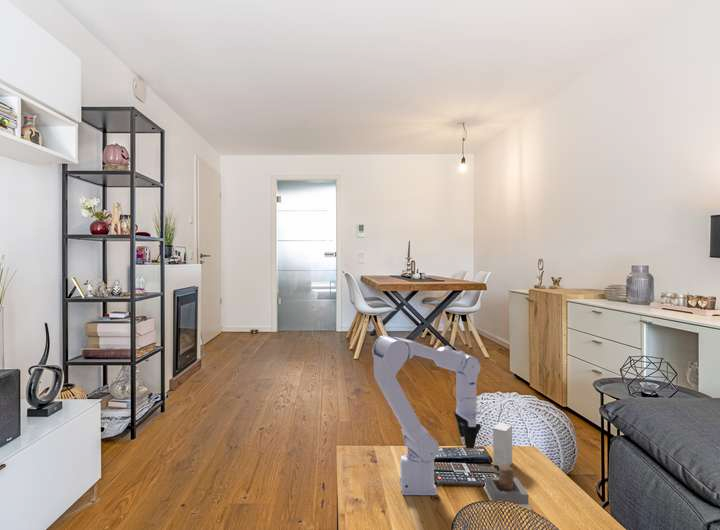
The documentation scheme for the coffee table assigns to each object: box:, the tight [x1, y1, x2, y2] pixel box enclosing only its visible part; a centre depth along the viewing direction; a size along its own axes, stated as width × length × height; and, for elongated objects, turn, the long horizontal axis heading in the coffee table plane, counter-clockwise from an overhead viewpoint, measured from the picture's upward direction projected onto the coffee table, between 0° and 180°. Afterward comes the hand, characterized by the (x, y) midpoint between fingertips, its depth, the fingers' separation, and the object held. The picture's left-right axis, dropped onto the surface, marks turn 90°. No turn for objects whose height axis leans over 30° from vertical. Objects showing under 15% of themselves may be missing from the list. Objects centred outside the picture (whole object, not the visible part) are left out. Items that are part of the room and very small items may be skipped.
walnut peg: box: [498, 466, 514, 491], centre depth 113 cm, size 4×4×7 cm
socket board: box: [483, 476, 533, 511], centre depth 113 cm, size 9×12×4 cm
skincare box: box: [492, 422, 513, 467], centre depth 132 cm, size 6×4×12 cm
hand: (466, 442), depth 124 cm, fingers open, 7 cm apart
